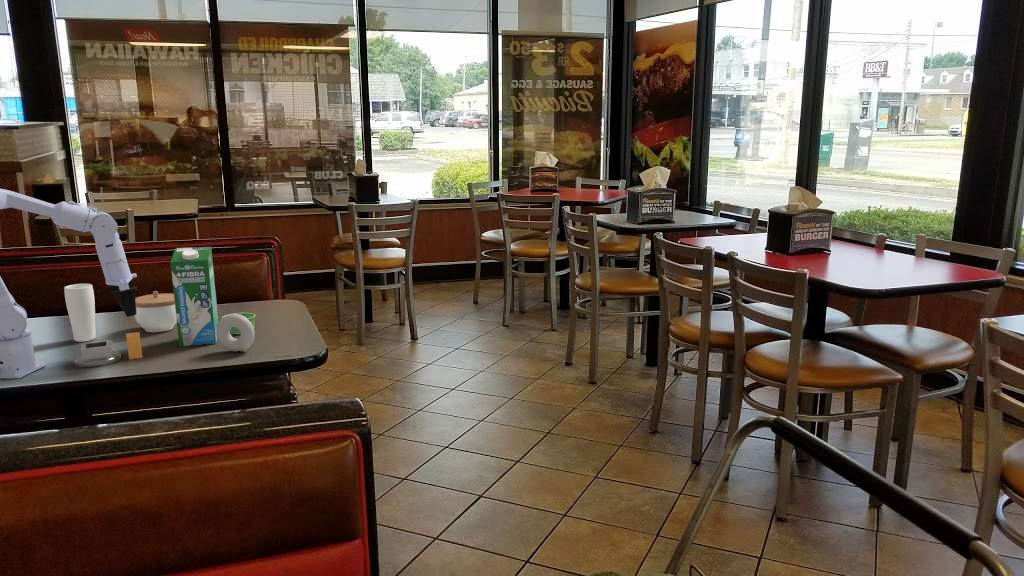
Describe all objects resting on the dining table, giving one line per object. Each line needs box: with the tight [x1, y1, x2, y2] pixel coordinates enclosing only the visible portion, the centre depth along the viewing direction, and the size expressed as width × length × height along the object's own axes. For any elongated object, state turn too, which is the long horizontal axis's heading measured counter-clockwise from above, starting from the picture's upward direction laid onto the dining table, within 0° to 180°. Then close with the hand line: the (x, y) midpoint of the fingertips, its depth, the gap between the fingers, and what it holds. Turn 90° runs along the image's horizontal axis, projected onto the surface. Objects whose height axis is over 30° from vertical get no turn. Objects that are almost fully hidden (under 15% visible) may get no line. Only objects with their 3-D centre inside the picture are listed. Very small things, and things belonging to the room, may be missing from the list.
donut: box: [216, 313, 256, 353], centre depth 188 cm, size 10×4×10 cm, turn 84°
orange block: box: [125, 331, 143, 360], centre depth 185 cm, size 3×3×6 cm
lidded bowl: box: [134, 290, 177, 333], centre depth 210 cm, size 13×13×11 cm
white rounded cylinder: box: [63, 283, 97, 343], centre depth 199 cm, size 7×7×15 cm
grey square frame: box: [73, 339, 122, 369], centre depth 182 cm, size 10×10×4 cm
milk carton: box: [170, 246, 219, 347], centre depth 197 cm, size 9×9×25 cm
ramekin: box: [221, 312, 256, 335], centre depth 209 cm, size 9×9×4 cm
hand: (129, 312), depth 185 cm, fingers open, 7 cm apart
